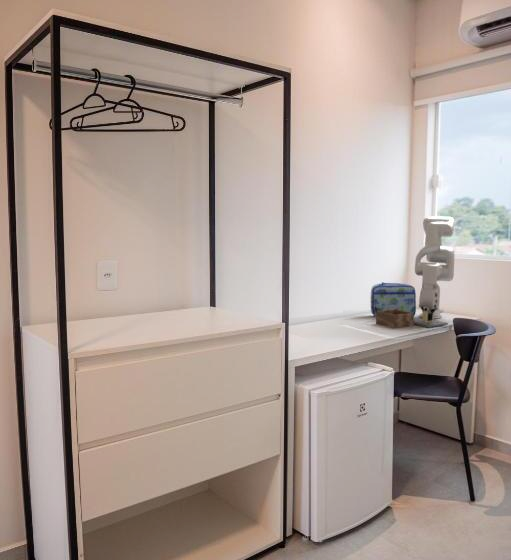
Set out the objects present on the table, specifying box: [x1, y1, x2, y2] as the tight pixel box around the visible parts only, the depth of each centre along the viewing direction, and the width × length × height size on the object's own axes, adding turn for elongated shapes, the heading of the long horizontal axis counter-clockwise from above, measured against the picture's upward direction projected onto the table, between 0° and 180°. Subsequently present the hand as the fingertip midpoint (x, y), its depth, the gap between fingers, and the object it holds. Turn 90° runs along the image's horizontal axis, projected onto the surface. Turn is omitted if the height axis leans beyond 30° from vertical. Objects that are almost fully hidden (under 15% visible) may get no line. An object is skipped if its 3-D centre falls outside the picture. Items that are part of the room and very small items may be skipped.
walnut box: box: [375, 309, 415, 329], centre depth 287 cm, size 14×14×8 cm
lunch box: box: [370, 281, 417, 318], centre depth 313 cm, size 26×11×21 cm, turn 84°
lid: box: [414, 310, 449, 328], centre depth 289 cm, size 15×15×7 cm
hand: (427, 319), depth 289 cm, fingers closed on lid, 2 cm apart
